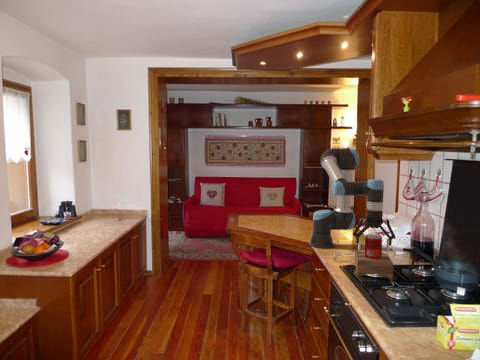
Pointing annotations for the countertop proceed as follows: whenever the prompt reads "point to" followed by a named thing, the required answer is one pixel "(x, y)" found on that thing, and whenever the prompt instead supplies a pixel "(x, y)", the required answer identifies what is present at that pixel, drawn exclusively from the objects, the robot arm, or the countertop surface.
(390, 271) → the walnut stand
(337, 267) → the countertop surface
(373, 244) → the canned food
